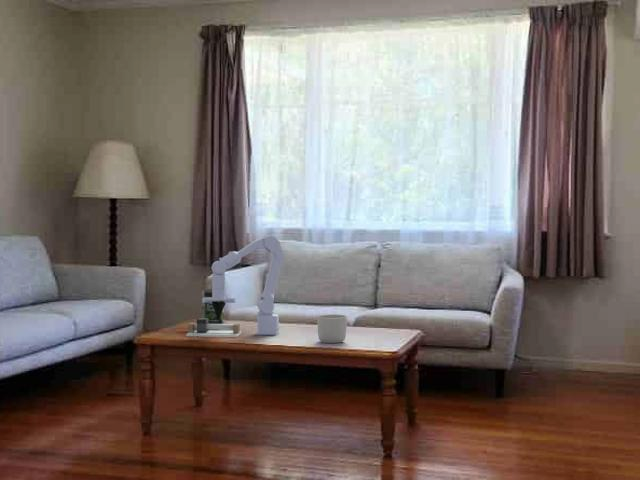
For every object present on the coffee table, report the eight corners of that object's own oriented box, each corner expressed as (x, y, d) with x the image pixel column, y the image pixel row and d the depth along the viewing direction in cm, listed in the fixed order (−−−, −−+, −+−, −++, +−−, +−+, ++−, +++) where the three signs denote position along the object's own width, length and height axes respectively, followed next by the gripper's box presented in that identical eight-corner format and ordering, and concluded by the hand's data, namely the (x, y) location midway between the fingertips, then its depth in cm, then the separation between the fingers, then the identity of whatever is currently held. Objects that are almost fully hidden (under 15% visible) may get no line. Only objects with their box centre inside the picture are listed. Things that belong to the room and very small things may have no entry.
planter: (316, 339, 341) (316, 314, 341) (344, 339, 342) (345, 314, 341) (318, 344, 329) (318, 318, 328) (348, 344, 329) (348, 318, 329)
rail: (241, 333, 358) (241, 322, 357) (236, 337, 346) (236, 326, 345) (192, 332, 359) (192, 321, 359) (186, 336, 347) (186, 325, 347)
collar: (208, 330, 355) (208, 318, 355) (205, 332, 350) (205, 319, 350) (199, 330, 356) (199, 317, 355) (196, 332, 350) (196, 319, 350)
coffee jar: (201, 329, 369) (201, 289, 369) (208, 326, 377) (208, 287, 376) (220, 330, 367) (220, 289, 366) (227, 327, 374) (227, 288, 374)
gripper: (236, 287, 355) (236, 318, 355) (204, 287, 356) (204, 317, 357) (233, 289, 348) (233, 320, 348) (200, 288, 349) (201, 319, 350)
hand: (218, 319), depth 352 cm, fingers closed
